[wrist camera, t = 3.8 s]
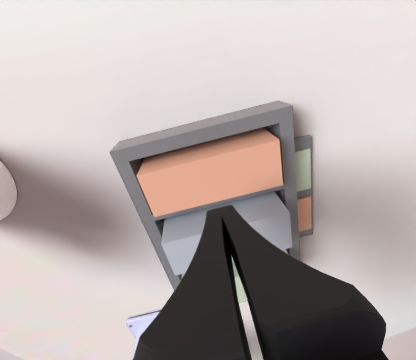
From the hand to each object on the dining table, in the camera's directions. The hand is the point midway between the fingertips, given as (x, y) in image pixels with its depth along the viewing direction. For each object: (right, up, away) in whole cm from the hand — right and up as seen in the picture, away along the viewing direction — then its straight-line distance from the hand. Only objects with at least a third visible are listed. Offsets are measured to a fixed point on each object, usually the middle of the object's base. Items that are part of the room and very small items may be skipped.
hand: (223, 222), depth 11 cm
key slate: (+1, -1, +9) cm, 9 cm away
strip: (+8, +1, +10) cm, 13 cm away
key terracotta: (-1, +4, +7) cm, 8 cm away
